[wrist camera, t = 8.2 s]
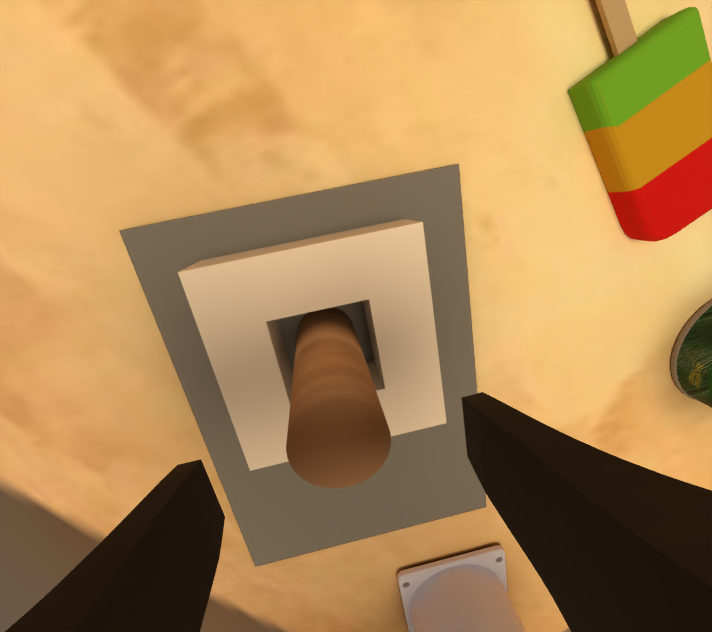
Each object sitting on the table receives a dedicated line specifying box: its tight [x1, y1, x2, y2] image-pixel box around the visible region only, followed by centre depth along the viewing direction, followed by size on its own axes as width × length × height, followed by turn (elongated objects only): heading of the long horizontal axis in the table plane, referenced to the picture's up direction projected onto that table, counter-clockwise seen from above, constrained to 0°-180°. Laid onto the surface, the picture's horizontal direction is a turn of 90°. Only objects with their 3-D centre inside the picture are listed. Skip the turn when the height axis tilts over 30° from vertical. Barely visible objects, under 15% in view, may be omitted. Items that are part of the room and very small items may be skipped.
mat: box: [120, 164, 486, 567], centre depth 20 cm, size 22×16×1 cm
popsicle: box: [568, 0, 712, 241], centre depth 16 cm, size 6×15×2 cm, turn 36°
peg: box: [286, 307, 391, 488], centre depth 14 cm, size 3×3×9 cm
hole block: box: [178, 219, 447, 471], centre depth 17 cm, size 10×10×3 cm
